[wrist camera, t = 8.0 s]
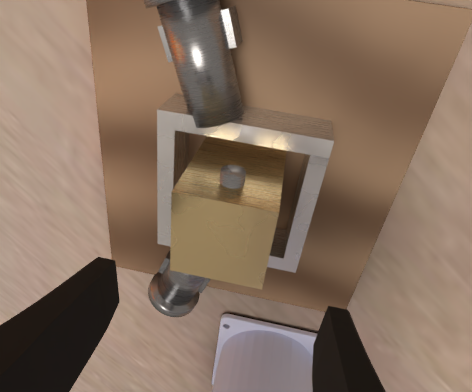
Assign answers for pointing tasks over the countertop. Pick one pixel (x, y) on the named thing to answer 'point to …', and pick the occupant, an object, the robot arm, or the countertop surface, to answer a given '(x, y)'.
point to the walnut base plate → (289, 101)
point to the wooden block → (227, 212)
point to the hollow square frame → (257, 133)
